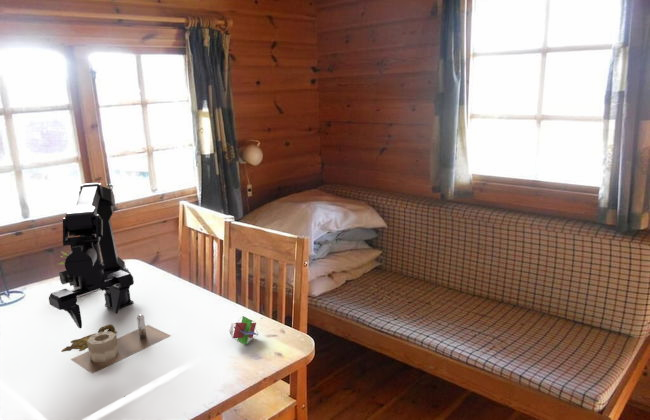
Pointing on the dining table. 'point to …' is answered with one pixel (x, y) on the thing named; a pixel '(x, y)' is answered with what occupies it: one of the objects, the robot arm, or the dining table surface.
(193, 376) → the dining table surface
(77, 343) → the olive gold carved ornament
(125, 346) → the board
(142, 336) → the steel post
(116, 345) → the beech bead
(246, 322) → the geometric puzzle
